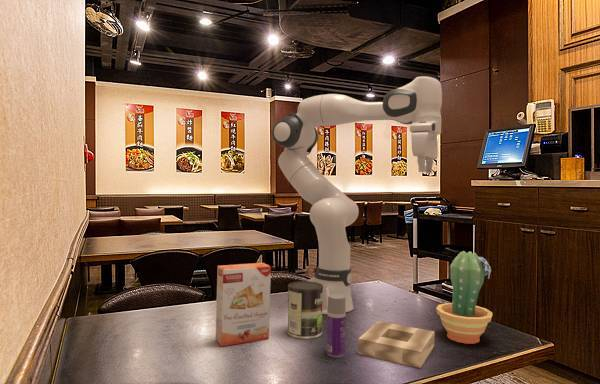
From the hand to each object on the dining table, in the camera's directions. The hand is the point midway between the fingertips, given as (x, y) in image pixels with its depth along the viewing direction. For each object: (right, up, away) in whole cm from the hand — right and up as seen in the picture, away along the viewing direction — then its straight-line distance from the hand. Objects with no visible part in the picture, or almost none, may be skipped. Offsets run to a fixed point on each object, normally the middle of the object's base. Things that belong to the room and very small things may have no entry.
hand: (425, 172), depth 131 cm
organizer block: (-14, -48, -20) cm, 54 cm away
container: (-30, -48, -24) cm, 62 cm away
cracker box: (-55, -48, -15) cm, 75 cm away
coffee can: (-38, -48, -9) cm, 62 cm away
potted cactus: (+8, -49, -11) cm, 50 cm away
